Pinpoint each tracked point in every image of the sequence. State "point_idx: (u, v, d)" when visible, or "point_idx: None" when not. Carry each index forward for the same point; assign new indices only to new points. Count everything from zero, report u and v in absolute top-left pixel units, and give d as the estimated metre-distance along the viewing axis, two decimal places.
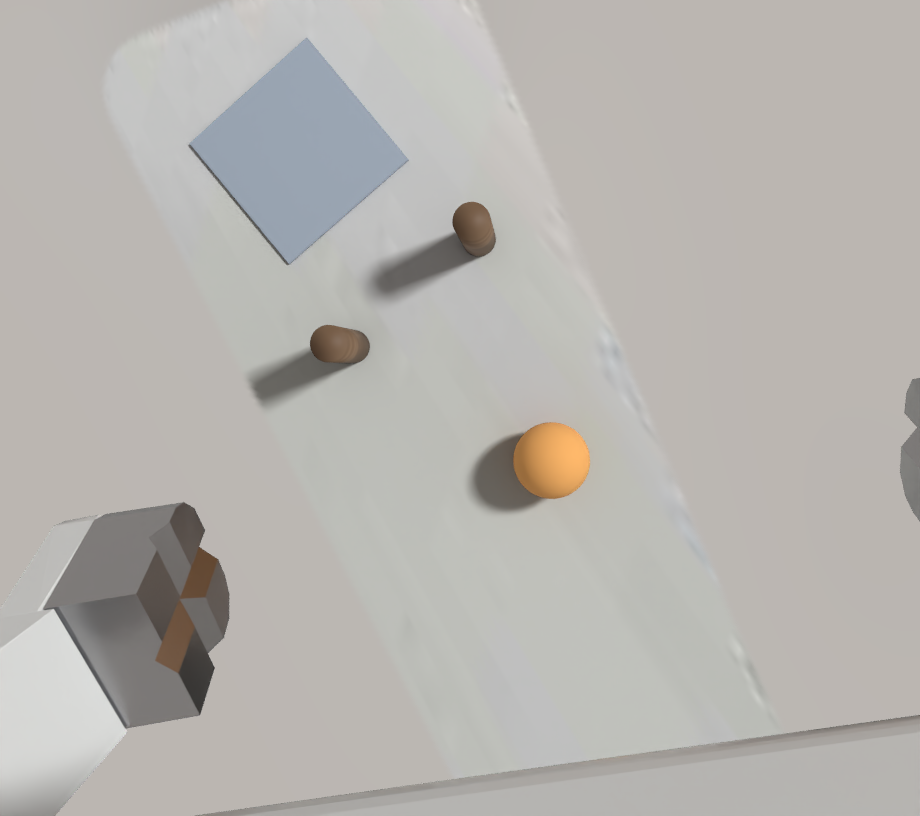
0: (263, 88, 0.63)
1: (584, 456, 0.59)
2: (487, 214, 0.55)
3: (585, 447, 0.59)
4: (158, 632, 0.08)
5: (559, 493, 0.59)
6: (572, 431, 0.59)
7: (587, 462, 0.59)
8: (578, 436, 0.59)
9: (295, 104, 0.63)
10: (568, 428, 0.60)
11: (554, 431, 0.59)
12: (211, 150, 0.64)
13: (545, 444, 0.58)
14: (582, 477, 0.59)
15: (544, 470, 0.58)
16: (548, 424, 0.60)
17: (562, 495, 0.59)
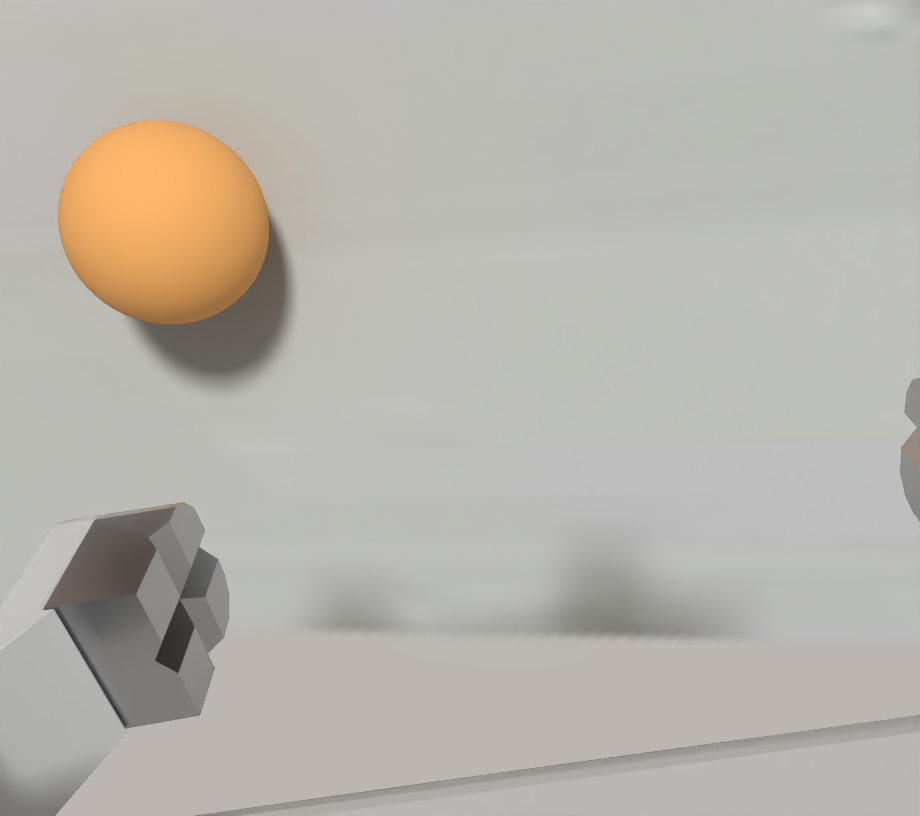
0: None
1: (164, 158, 0.21)
2: None
3: (150, 136, 0.21)
4: (158, 632, 0.08)
5: (236, 267, 0.22)
6: (96, 145, 0.21)
7: (189, 154, 0.21)
8: (115, 138, 0.21)
9: None
10: (87, 150, 0.22)
11: (67, 197, 0.21)
12: None
13: (82, 244, 0.21)
14: (220, 189, 0.21)
15: (144, 284, 0.21)
16: None
17: (250, 256, 0.23)
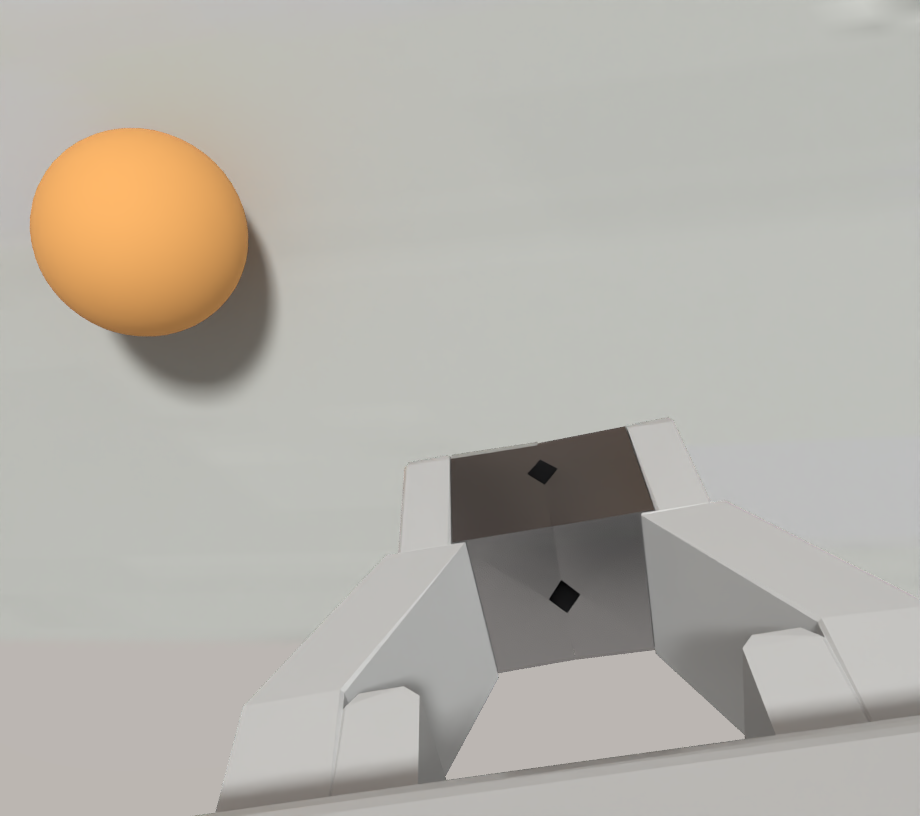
0: None
1: (137, 167, 0.20)
2: None
3: (122, 145, 0.21)
4: (558, 569, 0.08)
5: (213, 277, 0.22)
6: (67, 155, 0.21)
7: (162, 163, 0.21)
8: (86, 147, 0.21)
9: None
10: (58, 160, 0.21)
11: (38, 208, 0.21)
12: None
13: (54, 256, 0.21)
14: (195, 198, 0.21)
15: (119, 297, 0.21)
16: None
17: (227, 265, 0.22)
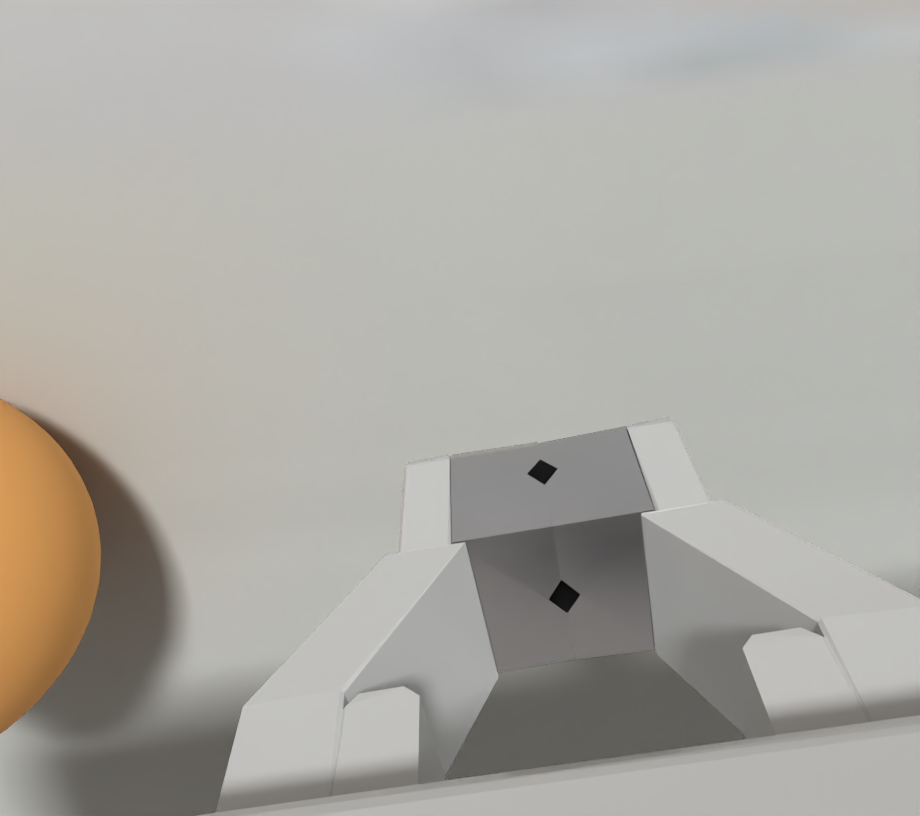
0: None
1: None
2: None
3: None
4: (558, 569, 0.08)
5: None
6: None
7: None
8: None
9: None
10: None
11: None
12: None
13: None
14: None
15: None
16: None
17: (34, 657, 0.11)
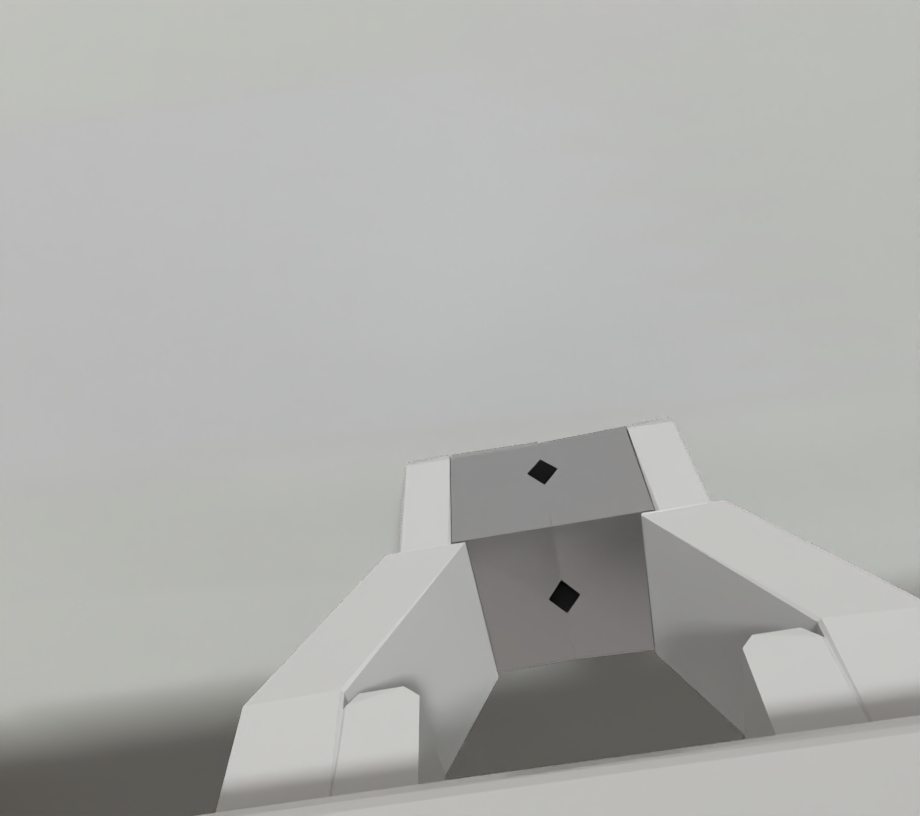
0: None
1: None
2: None
3: None
4: (557, 569, 0.08)
5: None
6: None
7: None
8: None
9: None
10: None
11: None
12: None
13: None
14: None
15: None
16: None
17: None
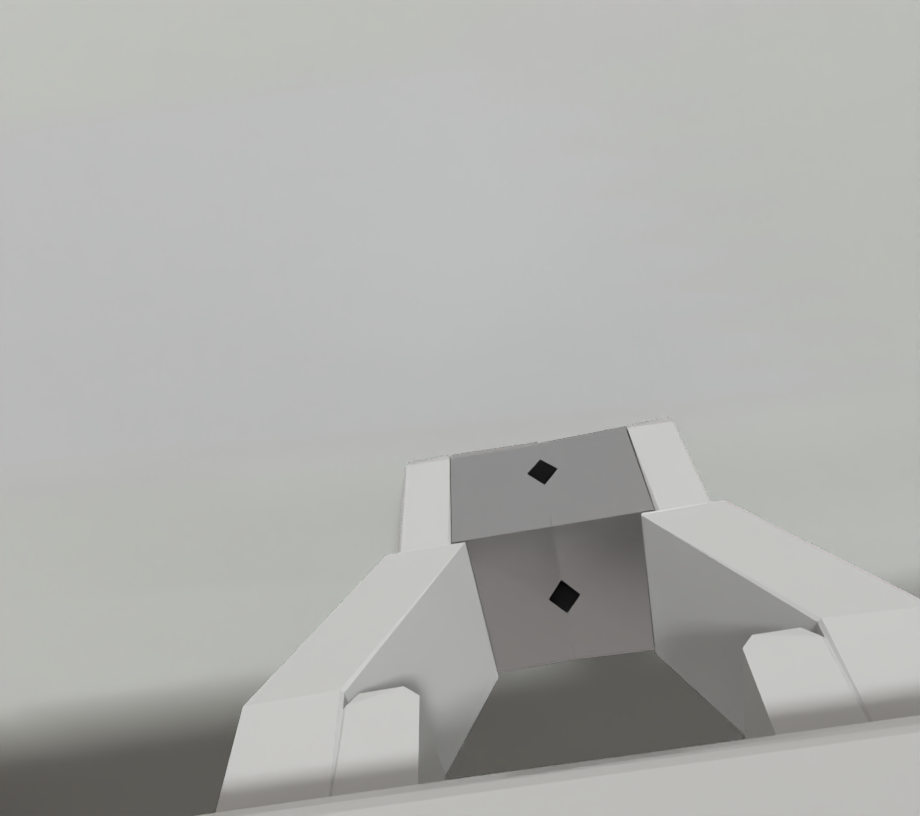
0: None
1: None
2: None
3: None
4: (557, 569, 0.08)
5: None
6: None
7: None
8: None
9: None
10: None
11: None
12: None
13: None
14: None
15: None
16: None
17: None
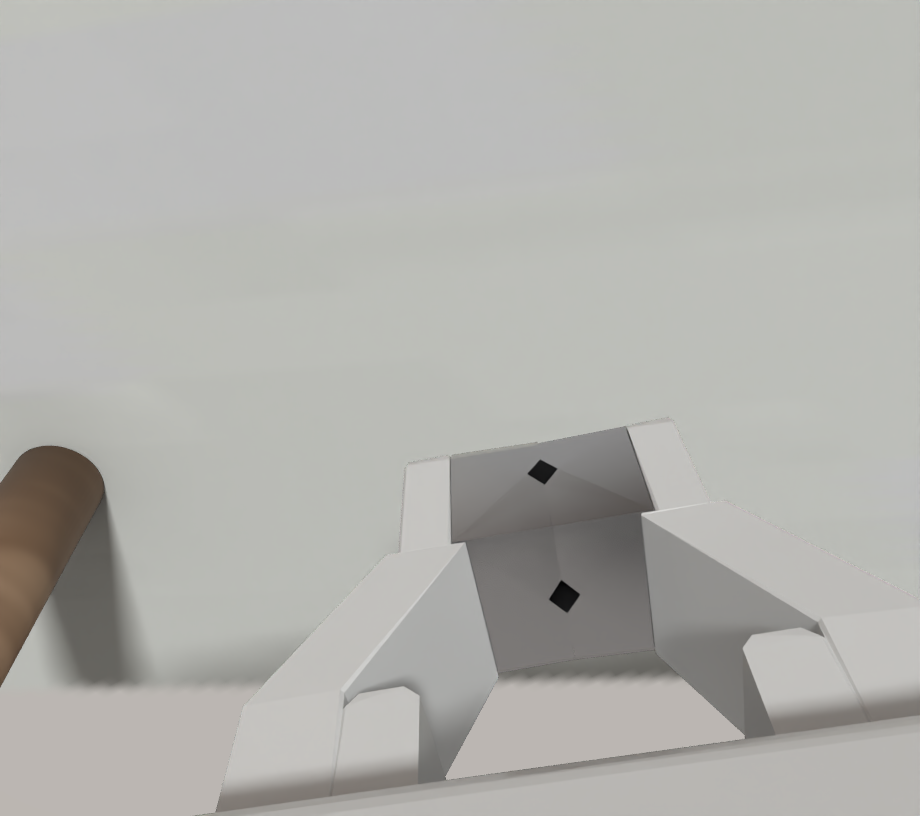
0: None
1: None
2: None
3: None
4: (558, 569, 0.08)
5: None
6: None
7: None
8: None
9: None
10: None
11: None
12: None
13: None
14: None
15: None
16: None
17: None
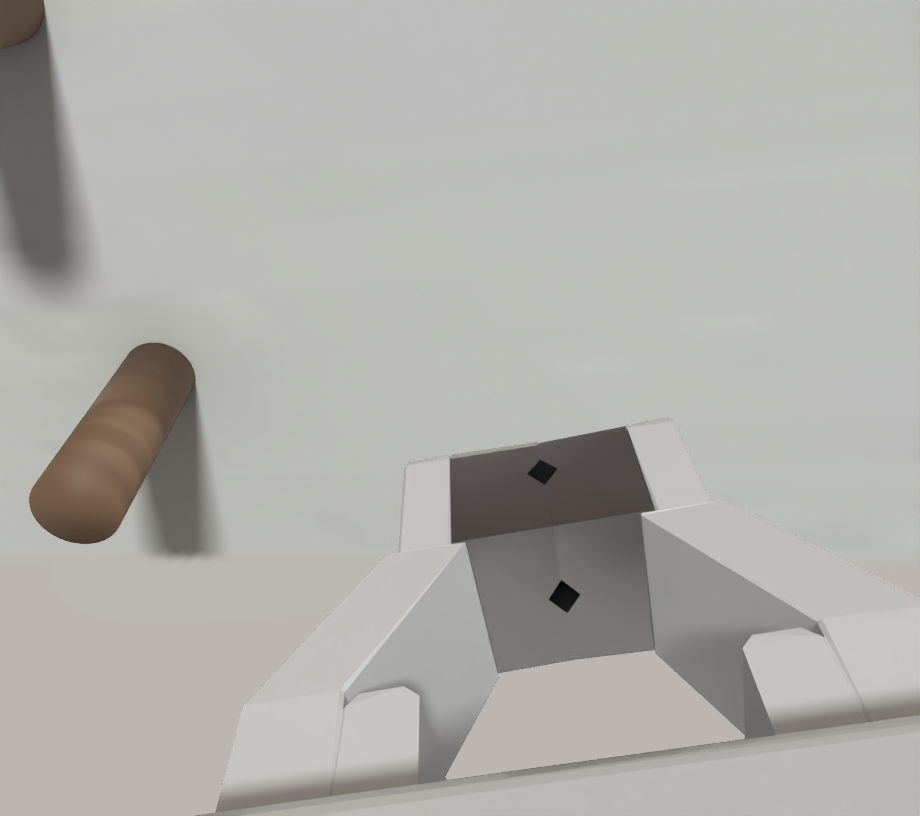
0: None
1: None
2: None
3: None
4: (558, 568, 0.08)
5: None
6: None
7: None
8: None
9: None
10: None
11: None
12: None
13: None
14: None
15: None
16: None
17: None
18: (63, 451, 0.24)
